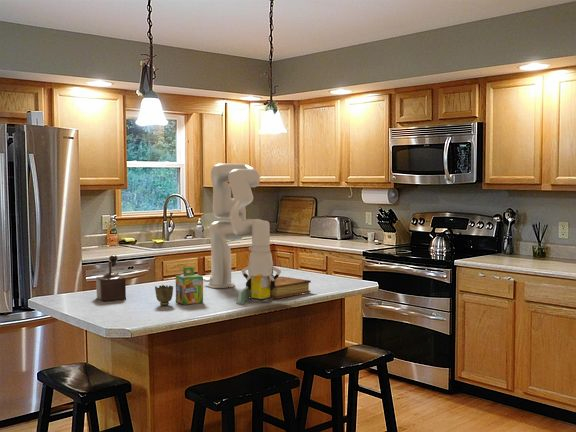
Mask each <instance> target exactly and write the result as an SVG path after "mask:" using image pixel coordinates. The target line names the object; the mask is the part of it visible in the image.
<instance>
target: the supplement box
mask: <svg viewBox="0 0 576 432" xmlns="http://www.w3.org/2000/svg"><path fill="white" fill-rule="evenodd" d="M250 299H254V300H260V301H261V300H265V299H270V277H263V275H257V276H255V277H254V276H252V277H251V297H250Z"/></svg>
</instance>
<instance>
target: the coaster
mask: <svg viewBox="0 0 576 432" xmlns="http://www.w3.org/2000/svg"><path fill="white" fill-rule="evenodd" d="M272 299H273V298H270V299H265V300H261V301H260V300H254V299H251V298H249V299H248V303H255V302H267V303H266V304H270V303H271V302H272V301H273V300H274V299H273V300H272ZM271 300H272V301H271ZM270 301H271V302H270ZM269 302H270V303H269Z"/></svg>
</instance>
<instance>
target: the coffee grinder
mask: <svg viewBox="0 0 576 432" xmlns="http://www.w3.org/2000/svg"><path fill="white" fill-rule="evenodd" d="M118 259H119V258H118V255H114V254H112V255H110V256H109V258H108V265H106V266H105V267H106V269H107V268H108V269H109V271H108V273H105V274H103V276H97V277H95V284H96V286H95V287H96V288H95V289H96V299H97V300H99V301H100V302H113V301H114V302H115V301H123V300H127V291H126V290H127V289H126V288H127V285H126V281H127V280H126V278H125V277H123V275H121V274H119V273H120V272H118V271H117V273H116V272H113V271H112V267H116V266H118V264H117V262H118Z"/></svg>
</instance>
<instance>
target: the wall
mask: <svg viewBox="0 0 576 432" xmlns="http://www.w3.org/2000/svg"><path fill="white" fill-rule="evenodd" d="M237 296H238V299H237V300H238V301H236V303H235V304H236V305H245V302H246V301H247V300H249V299H250V298H251V289H250V290H249V287H246V286H245V287H244V288H242V289H240V290H239V291H238V295H237ZM249 297H250V298H249ZM248 298H249V299H248ZM245 300H246V301H245Z"/></svg>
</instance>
